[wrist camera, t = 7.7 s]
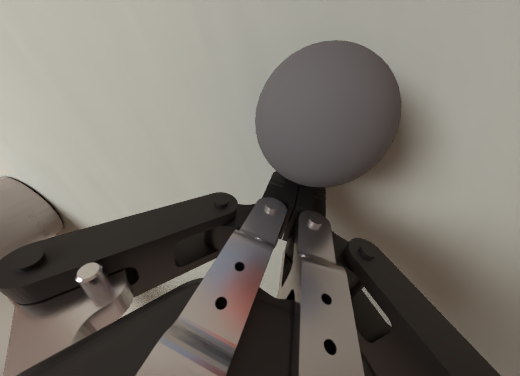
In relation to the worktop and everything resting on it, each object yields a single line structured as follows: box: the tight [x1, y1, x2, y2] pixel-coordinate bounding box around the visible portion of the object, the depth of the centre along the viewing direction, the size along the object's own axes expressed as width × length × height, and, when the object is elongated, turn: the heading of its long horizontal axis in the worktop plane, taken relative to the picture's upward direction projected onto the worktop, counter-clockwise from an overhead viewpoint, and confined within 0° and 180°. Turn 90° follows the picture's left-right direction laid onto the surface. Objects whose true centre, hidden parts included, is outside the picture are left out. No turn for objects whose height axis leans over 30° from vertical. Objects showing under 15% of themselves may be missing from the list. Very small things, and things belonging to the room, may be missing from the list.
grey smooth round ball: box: [255, 40, 401, 187], centre depth 8 cm, size 6×6×6 cm
